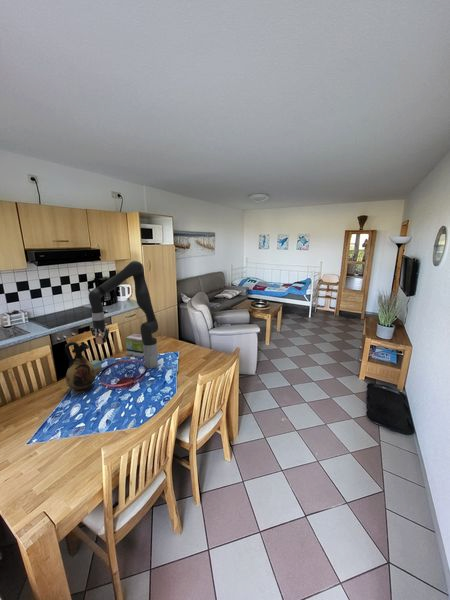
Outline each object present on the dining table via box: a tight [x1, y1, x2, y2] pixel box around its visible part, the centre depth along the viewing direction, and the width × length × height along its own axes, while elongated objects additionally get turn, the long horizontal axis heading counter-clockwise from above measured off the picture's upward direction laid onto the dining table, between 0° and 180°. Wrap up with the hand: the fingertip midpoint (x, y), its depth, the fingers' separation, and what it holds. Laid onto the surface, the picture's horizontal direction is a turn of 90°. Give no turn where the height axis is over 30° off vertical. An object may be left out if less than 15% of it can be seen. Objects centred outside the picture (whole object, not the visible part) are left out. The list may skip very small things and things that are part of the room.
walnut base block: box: [95, 366, 103, 375], centre depth 164 cm, size 6×6×4 cm
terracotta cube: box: [95, 334, 104, 345], centre depth 167 cm, size 4×4×4 cm
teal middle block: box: [89, 359, 102, 369], centre depth 163 cm, size 5×5×4 cm
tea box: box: [125, 333, 144, 358], centre depth 192 cm, size 15×10×15 cm, turn 73°
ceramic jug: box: [64, 341, 97, 394], centre depth 143 cm, size 17×15×30 cm
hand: (101, 341), depth 167 cm, fingers closed on terracotta cube, 4 cm apart
